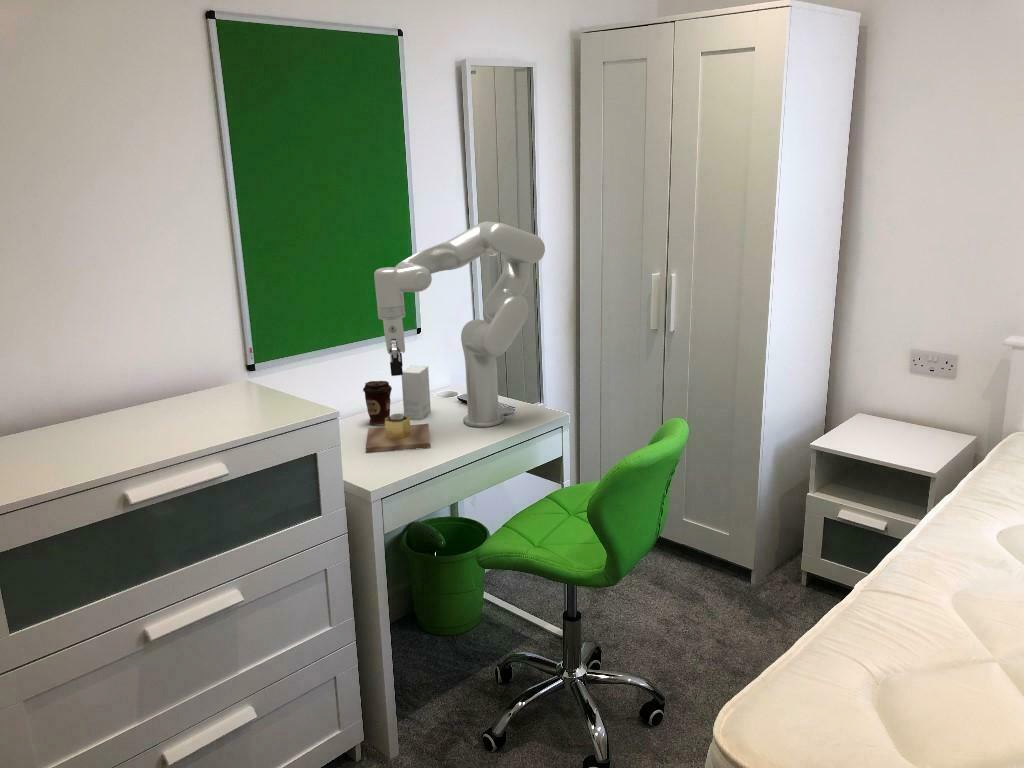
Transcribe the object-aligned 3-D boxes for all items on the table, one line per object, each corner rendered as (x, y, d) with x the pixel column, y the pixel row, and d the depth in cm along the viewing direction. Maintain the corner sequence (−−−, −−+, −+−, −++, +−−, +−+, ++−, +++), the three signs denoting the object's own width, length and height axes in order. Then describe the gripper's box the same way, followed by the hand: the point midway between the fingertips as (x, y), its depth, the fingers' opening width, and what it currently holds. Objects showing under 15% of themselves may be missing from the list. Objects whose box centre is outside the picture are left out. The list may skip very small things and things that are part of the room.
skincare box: (413, 411, 270) (410, 364, 266) (432, 412, 268) (429, 365, 264) (403, 419, 262) (399, 371, 258) (423, 420, 260) (419, 371, 256)
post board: (428, 428, 252) (427, 404, 250) (430, 447, 235) (428, 422, 233) (368, 432, 250) (366, 408, 248) (366, 452, 233) (363, 427, 231)
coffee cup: (377, 429, 253) (373, 388, 250) (360, 424, 259) (356, 383, 255) (399, 422, 259) (396, 381, 256) (382, 417, 265) (379, 377, 261)
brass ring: (410, 430, 246) (409, 414, 244) (410, 438, 239) (409, 421, 238) (386, 432, 245) (385, 415, 244) (385, 439, 238) (384, 423, 237)
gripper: (405, 316, 225) (410, 377, 230) (404, 305, 242) (409, 362, 246) (377, 319, 224) (383, 380, 229) (378, 307, 241) (384, 364, 246)
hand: (397, 370), depth 238 cm, fingers open, 9 cm apart
